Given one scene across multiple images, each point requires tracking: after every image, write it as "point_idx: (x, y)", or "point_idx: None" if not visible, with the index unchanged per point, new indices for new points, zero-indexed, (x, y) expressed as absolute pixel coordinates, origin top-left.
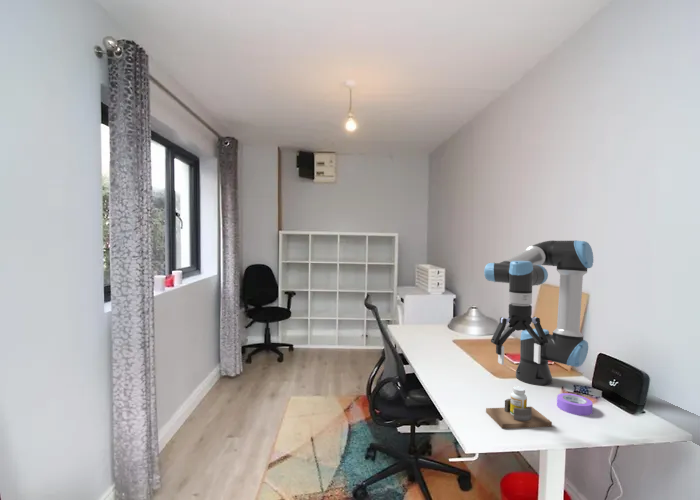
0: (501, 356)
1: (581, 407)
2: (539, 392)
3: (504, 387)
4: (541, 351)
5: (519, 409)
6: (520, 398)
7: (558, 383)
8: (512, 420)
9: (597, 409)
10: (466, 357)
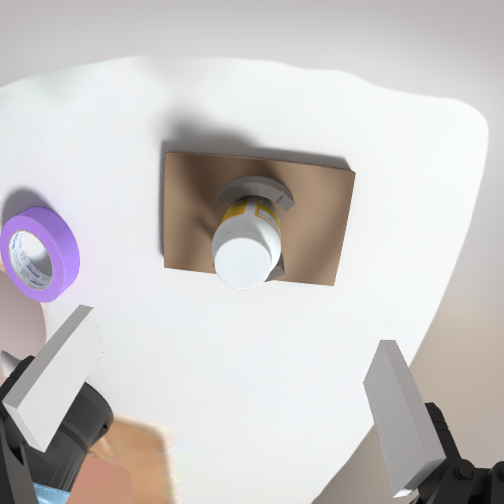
0: (413, 388)
1: (33, 216)
2: None
3: (169, 394)
4: (23, 367)
5: (279, 190)
6: (259, 220)
7: None
8: (302, 187)
9: None
10: (184, 495)
